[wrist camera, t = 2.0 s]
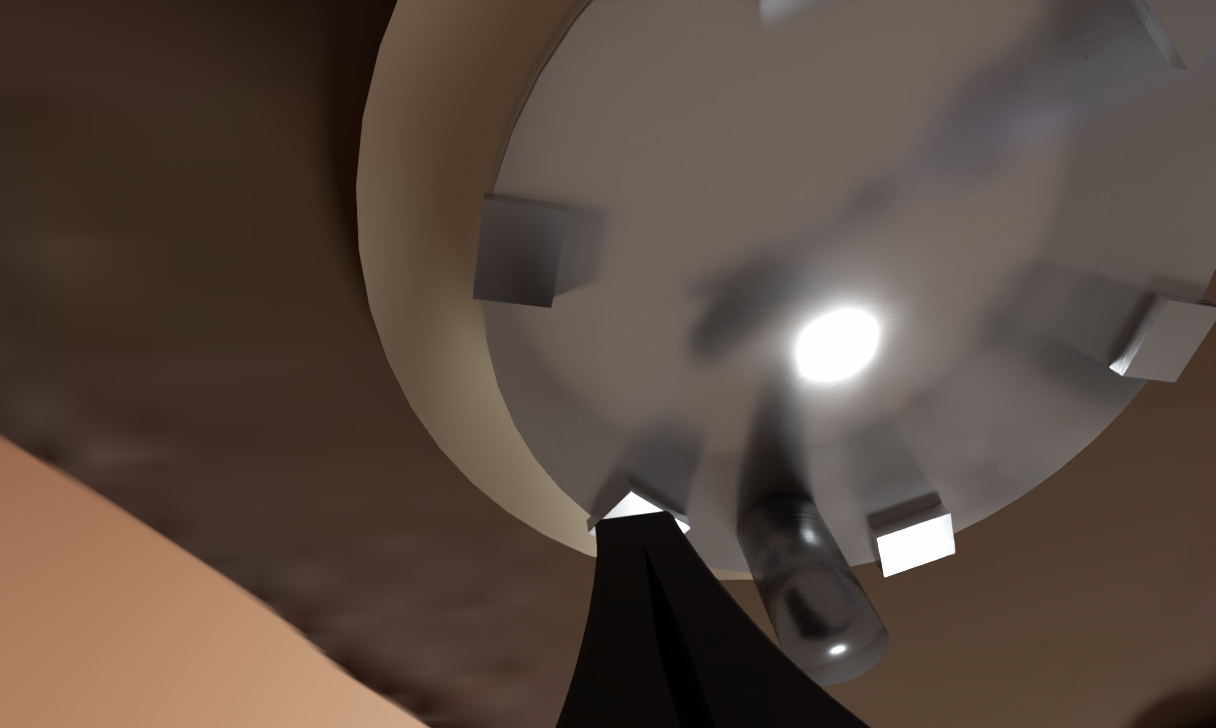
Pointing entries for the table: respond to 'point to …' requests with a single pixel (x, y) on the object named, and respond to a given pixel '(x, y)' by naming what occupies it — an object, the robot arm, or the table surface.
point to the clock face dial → (844, 269)
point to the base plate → (452, 234)
